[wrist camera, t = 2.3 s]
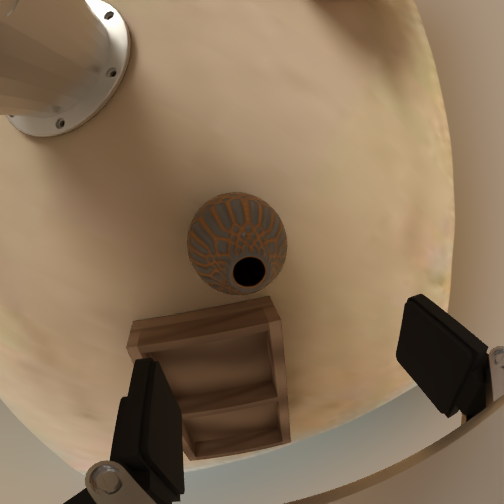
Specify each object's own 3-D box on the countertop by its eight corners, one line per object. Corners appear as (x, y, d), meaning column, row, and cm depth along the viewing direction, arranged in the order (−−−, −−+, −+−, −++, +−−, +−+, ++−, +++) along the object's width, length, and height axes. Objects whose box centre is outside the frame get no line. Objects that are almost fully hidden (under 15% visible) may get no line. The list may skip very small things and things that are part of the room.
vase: (188, 267, 25) (188, 327, 16) (188, 185, 22) (184, 209, 14) (268, 266, 26) (301, 321, 18) (274, 187, 23) (316, 212, 15)
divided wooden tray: (133, 321, 25) (126, 347, 22) (269, 296, 27) (280, 319, 23) (188, 437, 33) (189, 460, 29) (282, 419, 34) (290, 442, 31)
